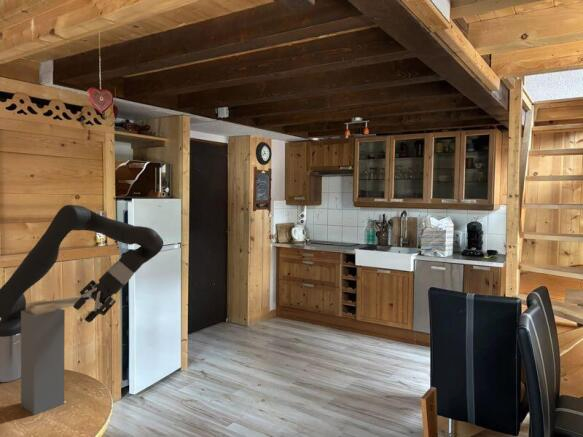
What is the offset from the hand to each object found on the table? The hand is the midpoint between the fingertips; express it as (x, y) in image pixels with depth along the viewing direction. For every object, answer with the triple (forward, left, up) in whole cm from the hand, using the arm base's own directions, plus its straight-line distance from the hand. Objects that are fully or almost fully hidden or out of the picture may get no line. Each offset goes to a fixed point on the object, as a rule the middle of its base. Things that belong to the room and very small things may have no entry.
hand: (80, 314), depth 144 cm
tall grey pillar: (-9, -8, -31) cm, 33 cm away
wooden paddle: (-9, -3, +1) cm, 10 cm away
